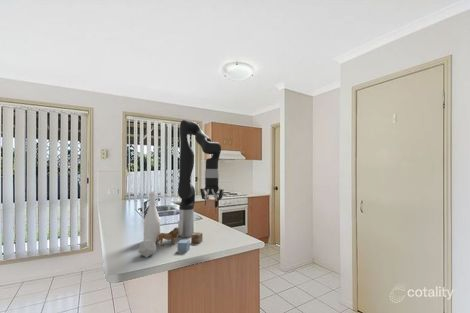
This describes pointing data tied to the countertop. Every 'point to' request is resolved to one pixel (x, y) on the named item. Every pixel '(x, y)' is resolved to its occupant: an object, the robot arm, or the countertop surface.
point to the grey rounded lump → (147, 247)
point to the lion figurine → (168, 236)
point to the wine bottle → (152, 220)
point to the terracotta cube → (210, 203)
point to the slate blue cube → (183, 245)
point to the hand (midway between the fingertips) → (211, 206)
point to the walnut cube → (196, 238)
